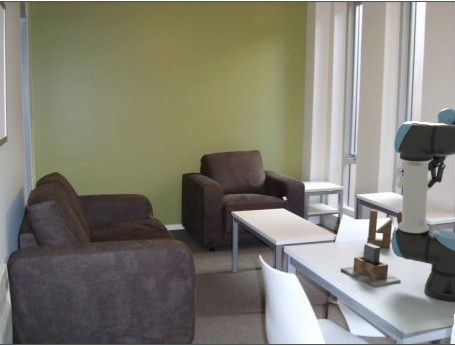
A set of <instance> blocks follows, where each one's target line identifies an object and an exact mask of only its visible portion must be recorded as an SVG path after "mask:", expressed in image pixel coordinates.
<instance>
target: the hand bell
mask: <svg viewBox="0 0 455 346" xmlns="http://www.w3.org/2000/svg"><path fill="white" fill-rule="evenodd" d="M396 222H397V225H398V224H399V223H400V222H402V211H399V212H398V213H397V217H396ZM390 244H392V238H391V241H390Z"/></svg>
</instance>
